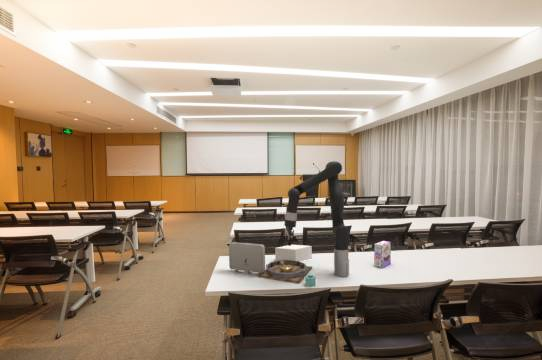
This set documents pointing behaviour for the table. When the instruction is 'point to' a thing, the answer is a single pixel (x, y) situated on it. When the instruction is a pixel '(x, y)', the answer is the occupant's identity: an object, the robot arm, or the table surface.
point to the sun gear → (286, 268)
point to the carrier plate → (277, 269)
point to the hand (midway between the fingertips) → (287, 243)
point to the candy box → (382, 254)
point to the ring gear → (284, 275)
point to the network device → (247, 258)
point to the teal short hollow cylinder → (310, 280)
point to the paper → (293, 253)
